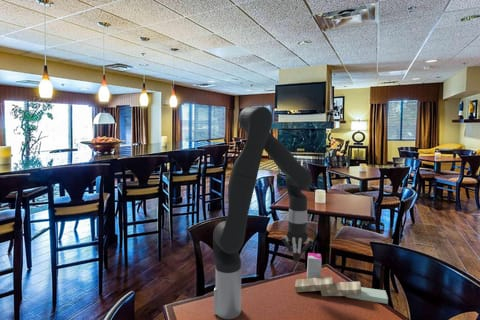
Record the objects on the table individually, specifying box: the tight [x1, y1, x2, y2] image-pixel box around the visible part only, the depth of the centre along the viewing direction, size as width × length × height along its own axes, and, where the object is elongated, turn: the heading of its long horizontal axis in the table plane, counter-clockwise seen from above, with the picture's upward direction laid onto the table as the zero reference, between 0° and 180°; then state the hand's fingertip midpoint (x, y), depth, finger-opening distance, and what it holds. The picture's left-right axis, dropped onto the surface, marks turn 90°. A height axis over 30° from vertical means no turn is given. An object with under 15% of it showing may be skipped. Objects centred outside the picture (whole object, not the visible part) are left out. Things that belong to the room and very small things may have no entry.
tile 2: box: [320, 281, 362, 297], centre depth 121 cm, size 2×6×15 cm
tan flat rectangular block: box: [294, 275, 334, 293], centre depth 124 cm, size 2×6×15 cm
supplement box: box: [306, 252, 323, 279], centre depth 132 cm, size 6×6×12 cm
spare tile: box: [345, 286, 389, 305], centre depth 121 cm, size 2×6×15 cm
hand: (296, 260), depth 124 cm, fingers closed
